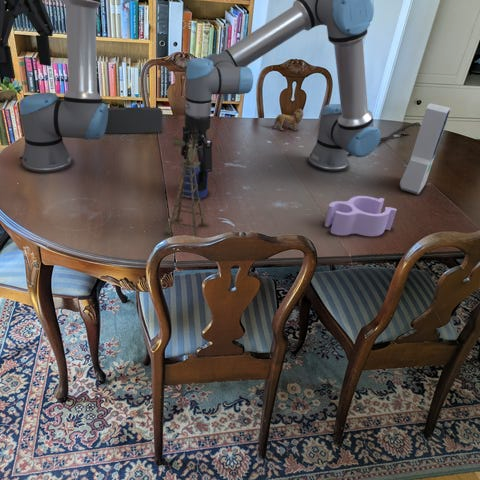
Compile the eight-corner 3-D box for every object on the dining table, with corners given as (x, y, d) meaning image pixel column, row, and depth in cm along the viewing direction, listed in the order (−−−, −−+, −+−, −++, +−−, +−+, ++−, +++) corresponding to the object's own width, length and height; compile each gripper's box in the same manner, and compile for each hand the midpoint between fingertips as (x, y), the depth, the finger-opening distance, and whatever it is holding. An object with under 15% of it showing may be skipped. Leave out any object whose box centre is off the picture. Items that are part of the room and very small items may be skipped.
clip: (337, 240, 135) (342, 219, 131) (318, 218, 145) (322, 198, 141) (395, 233, 141) (402, 213, 137) (373, 213, 151) (378, 194, 147)
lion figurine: (298, 126, 216) (301, 107, 212) (303, 130, 212) (306, 111, 207) (269, 127, 212) (271, 107, 207) (273, 131, 207) (276, 111, 203)
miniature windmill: (195, 240, 128) (201, 135, 112) (166, 234, 129) (167, 130, 113) (204, 224, 136) (210, 124, 119) (176, 219, 137) (178, 119, 120)
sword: (406, 132, 223) (406, 130, 222) (411, 134, 221) (412, 132, 220) (362, 144, 207) (363, 141, 206) (368, 146, 205) (368, 143, 204)
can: (212, 193, 152) (213, 169, 147) (195, 201, 147) (196, 176, 142) (194, 185, 156) (195, 161, 151) (177, 192, 151) (178, 167, 146)
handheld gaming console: (161, 130, 196) (161, 106, 191) (162, 132, 194) (162, 108, 189) (105, 131, 189) (103, 107, 184) (105, 134, 187) (104, 109, 181)
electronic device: (417, 196, 165) (445, 112, 149) (397, 189, 168) (422, 107, 152) (426, 184, 174) (453, 104, 158) (406, 178, 177) (431, 99, 161)
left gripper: (-15, -33, 85) (6, 86, 96) (62, -35, 105) (72, 62, 117) (-50, -37, 86) (-25, 80, 97) (33, -39, 107) (45, 58, 118)
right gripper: (170, 105, 142) (169, 173, 155) (205, 127, 128) (201, 200, 141) (191, 103, 146) (189, 169, 159) (227, 124, 132) (222, 195, 145)
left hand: (28, 71), depth 107 cm, fingers open, 13 cm apart
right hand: (195, 184), depth 150 cm, fingers closed on can, 8 cm apart
